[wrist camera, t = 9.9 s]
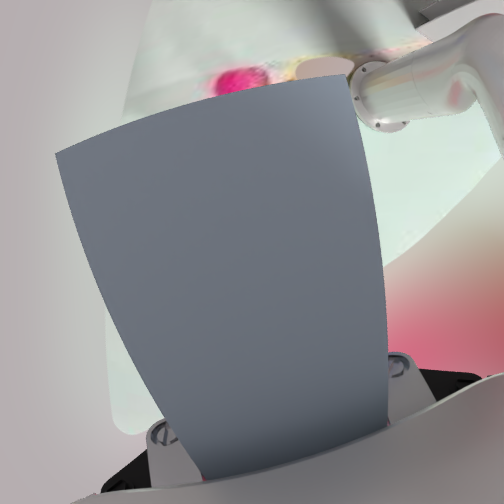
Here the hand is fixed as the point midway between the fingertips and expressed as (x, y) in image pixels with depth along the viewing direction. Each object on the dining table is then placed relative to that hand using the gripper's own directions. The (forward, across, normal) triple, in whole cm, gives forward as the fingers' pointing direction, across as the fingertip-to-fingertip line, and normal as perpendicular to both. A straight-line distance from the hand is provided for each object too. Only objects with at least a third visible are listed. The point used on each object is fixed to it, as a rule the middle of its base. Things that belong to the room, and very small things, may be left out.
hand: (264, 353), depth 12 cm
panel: (+14, 0, 0) cm, 14 cm away
